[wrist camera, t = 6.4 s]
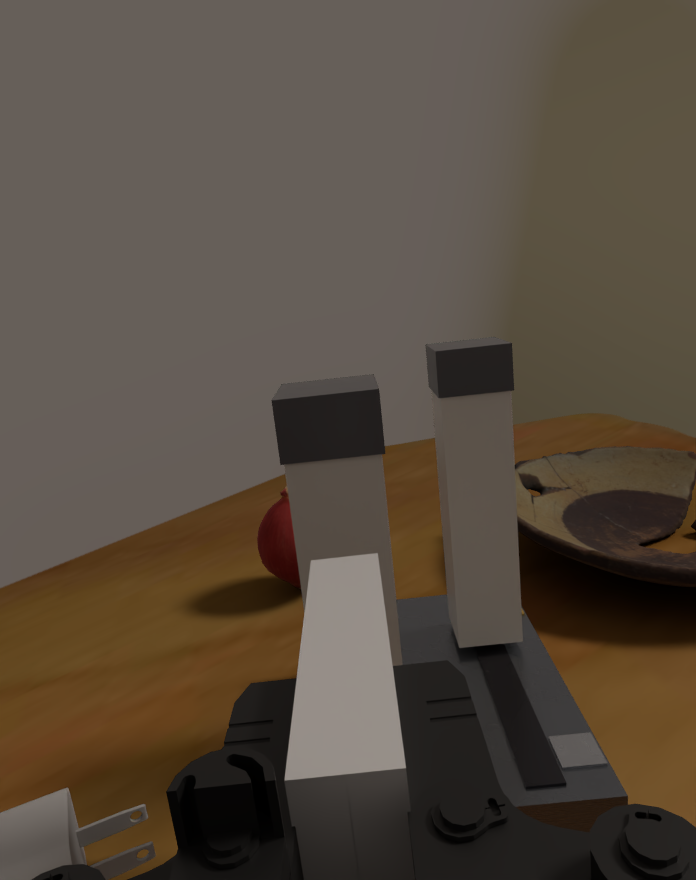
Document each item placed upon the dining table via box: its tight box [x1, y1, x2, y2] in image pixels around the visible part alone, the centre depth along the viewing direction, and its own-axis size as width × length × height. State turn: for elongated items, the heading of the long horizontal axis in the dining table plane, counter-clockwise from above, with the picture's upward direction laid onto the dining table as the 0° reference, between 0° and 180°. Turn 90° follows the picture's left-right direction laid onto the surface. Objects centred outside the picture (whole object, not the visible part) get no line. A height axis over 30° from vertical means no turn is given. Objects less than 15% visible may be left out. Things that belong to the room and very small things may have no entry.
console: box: [396, 595, 628, 833], centre depth 29 cm, size 11×15×4 cm
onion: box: [257, 487, 301, 589], centre depth 47 cm, size 6×6×8 cm
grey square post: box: [272, 374, 403, 666], centre depth 22 cm, size 3×3×14 cm
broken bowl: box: [515, 446, 696, 587], centre depth 44 cm, size 22×30×8 cm
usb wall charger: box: [0, 788, 156, 880], centre depth 23 cm, size 4×7×4 cm, turn 115°
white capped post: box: [426, 337, 523, 648], centre depth 30 cm, size 3×3×14 cm
